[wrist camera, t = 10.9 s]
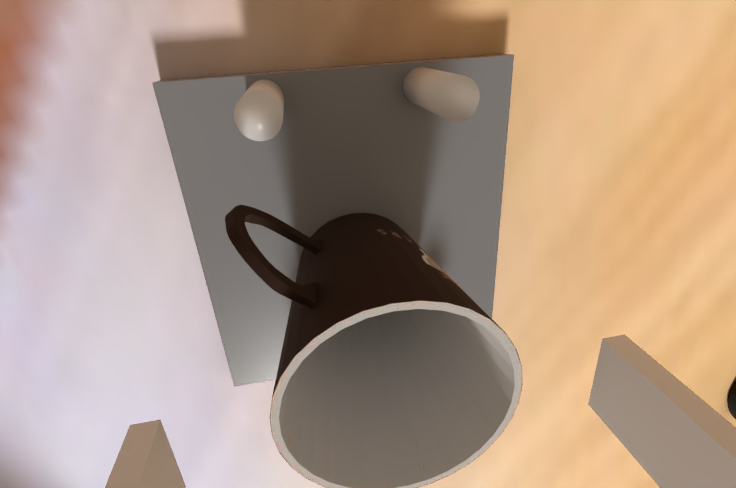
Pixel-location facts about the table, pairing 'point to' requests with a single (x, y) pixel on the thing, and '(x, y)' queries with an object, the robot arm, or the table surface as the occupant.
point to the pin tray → (338, 174)
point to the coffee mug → (379, 357)
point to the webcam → (732, 401)
